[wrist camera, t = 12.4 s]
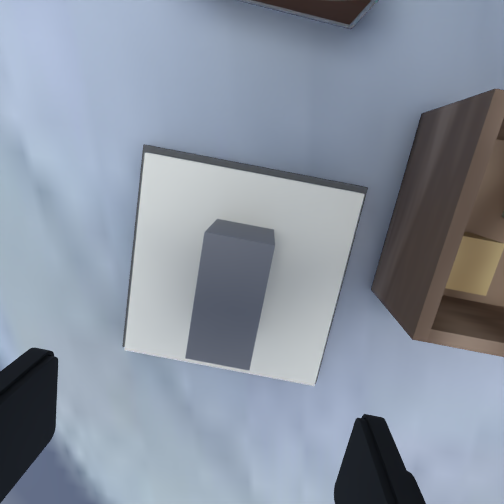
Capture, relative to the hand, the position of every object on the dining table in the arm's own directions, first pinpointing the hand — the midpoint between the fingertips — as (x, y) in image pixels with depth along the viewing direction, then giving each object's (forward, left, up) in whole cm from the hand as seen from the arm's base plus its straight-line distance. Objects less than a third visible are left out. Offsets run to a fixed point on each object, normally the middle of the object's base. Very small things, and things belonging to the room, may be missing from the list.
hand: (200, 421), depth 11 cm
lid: (0, 0, -16) cm, 16 cm away
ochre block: (-14, -4, -16) cm, 22 cm away
